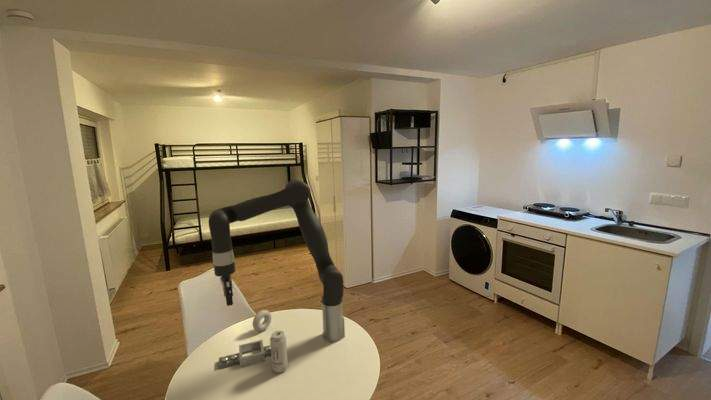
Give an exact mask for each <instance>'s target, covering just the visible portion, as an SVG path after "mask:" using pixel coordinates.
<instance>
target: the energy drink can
mask: <svg viewBox="0 0 711 400" xmlns="http://www.w3.org/2000/svg"><path fill="white" fill-rule="evenodd" d="M269 345H271V368H272V369H271V370H272V371H274V373H276V374H282V373H284V372H286V370H287V368H288V367H289V365H288V364H289V363H288V362H289V361H288V348H287V336H286V334H285V332H284V331H282V330H275V331H274V332H272V333H271V335H270V339H269Z"/></svg>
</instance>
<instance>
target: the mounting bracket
mask: <svg viewBox="0 0 711 400" xmlns="http://www.w3.org/2000/svg"><path fill="white" fill-rule="evenodd" d="M263 341H264V340H263V339H260V340H255V341H252V342H247V343H242V344H238V345H239V346H238V348H239V349H238V351H239V352H236V353H233V354H230V355H229V354H228V355H225V356H222V357H218V370H221V369H224V368H229V367H233V366H236V365H239V366H240V368H243V367H246V366H250V365H253V364H257V363H260V362H264V361H266V358H267V357H270V356H271V345H270V344H269V345H266V346H264V342H263ZM257 350H260V352H257V353H253V354H248V355H246V356H243V354H246V353H249V352H253V351H257Z"/></svg>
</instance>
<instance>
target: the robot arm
mask: <svg viewBox="0 0 711 400" xmlns="http://www.w3.org/2000/svg"><path fill="white" fill-rule="evenodd" d="M310 196H311V188H310V186H309V184H307V183H306V182H304V181H302V180H300V179H292V180H289V181H288V182H287V183H286V185H285V187H284V189H282V190H279V191H277V192H273V193H271V194H267V195H262V196H258V197H253V198H250V199H247V200H244V201H241V202H238V203H237V204H232V205H229V206H224V207H221V208H219V209H218V208H217V209H216V210H213V211H212V212H210V214H209V217H208V227H209V233H210V239H211V248H212V249H211V250H212V263H213V269H214V270H213V271H214V276H216V277H219V279H220V284H221V286H222V292H223V296H224V297H225V301H226V306H227V307H229V306H233V304H234V302H233V296H234V293H233V288H234V287H233V277H232V275H233V274H234V273H235V272H236V264H235V263H236V262H235V254H234V250H233V242H232V237H231V226H230V225H231V224H233V223H236V222H244V221H247V220H249V219H253V218H255V217H257V216H260V215H264V214H266V213H268V212H271V211H274V210H276V209H279V208H280V209H281V208H285V207H288V206H291V207H292V209H293V212H294V214H295V216H296V220H297V223H298V227H299V229H300V232H301V235H302V238H303V241H304V243H305V245H306V247H307V249H308V251H309V254H310V255H311V257H312V258H313V260H314V263H315V266H316V269H317V273H318V278H319V280H320V282H321V284H322V288H323V289H322V290H323V293H322V294H323V295H322V296H321V309H322V330H323V331H322V332H323V333H322V334H323V339H324V340H326V341H327V342H338V341H341V340H342V339H343V338H345V337H346V333H345V330H346V329H345V327H346V326H345V317H344V314H343V310H344V309H343V298H344V276H343V274H342V272H341V271H340V270H339V269H338V268H337V266H336V265H335V263H334V261H333V259H332V257H331V255H330V252H329V243H328V238H327V235H326V233H325V229H324V228H323V225H322V223H321V221H320V220H319V218H318V216H317V215H316V214H315V212H314V210H313V208H312V206H311V203H310V200H309V198H310Z"/></svg>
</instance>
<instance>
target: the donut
mask: <svg viewBox="0 0 711 400" xmlns="http://www.w3.org/2000/svg"><path fill="white" fill-rule="evenodd" d="M262 319H264V320H263V322H261V320H262ZM271 322H272V314H271V312H270V311H268V310H267V309H262V310H260V311H258V312H257V313H256V314H255V315H254V317H253V320H252V327H253V330H254V331H257V332H263V331H265V330H267V329H268V328H269V327H270V324H271Z"/></svg>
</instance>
